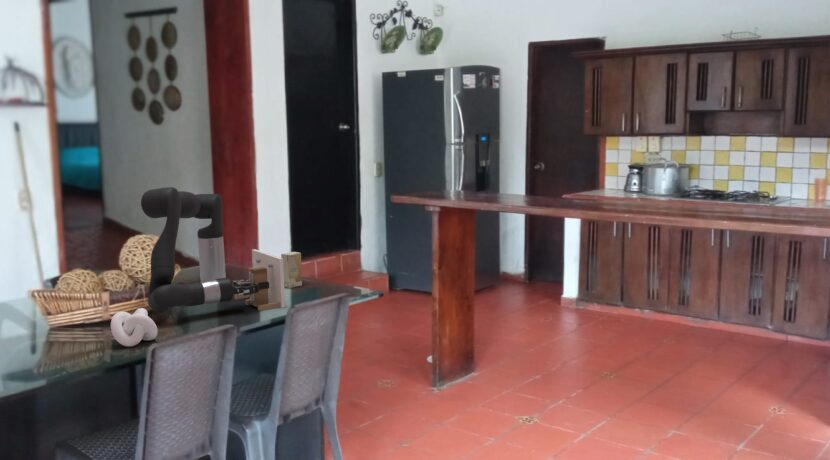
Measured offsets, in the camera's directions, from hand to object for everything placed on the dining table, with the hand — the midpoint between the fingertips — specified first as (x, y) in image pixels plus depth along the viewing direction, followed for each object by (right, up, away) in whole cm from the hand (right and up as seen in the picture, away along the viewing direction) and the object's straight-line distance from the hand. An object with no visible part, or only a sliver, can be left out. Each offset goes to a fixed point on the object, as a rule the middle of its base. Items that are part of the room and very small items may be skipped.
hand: (265, 283), depth 252 cm
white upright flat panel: (-3, -7, +5) cm, 9 cm away
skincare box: (+4, -3, +28) cm, 29 cm away
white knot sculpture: (-29, -14, -36) cm, 49 cm away
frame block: (-2, -7, 0) cm, 7 cm away
